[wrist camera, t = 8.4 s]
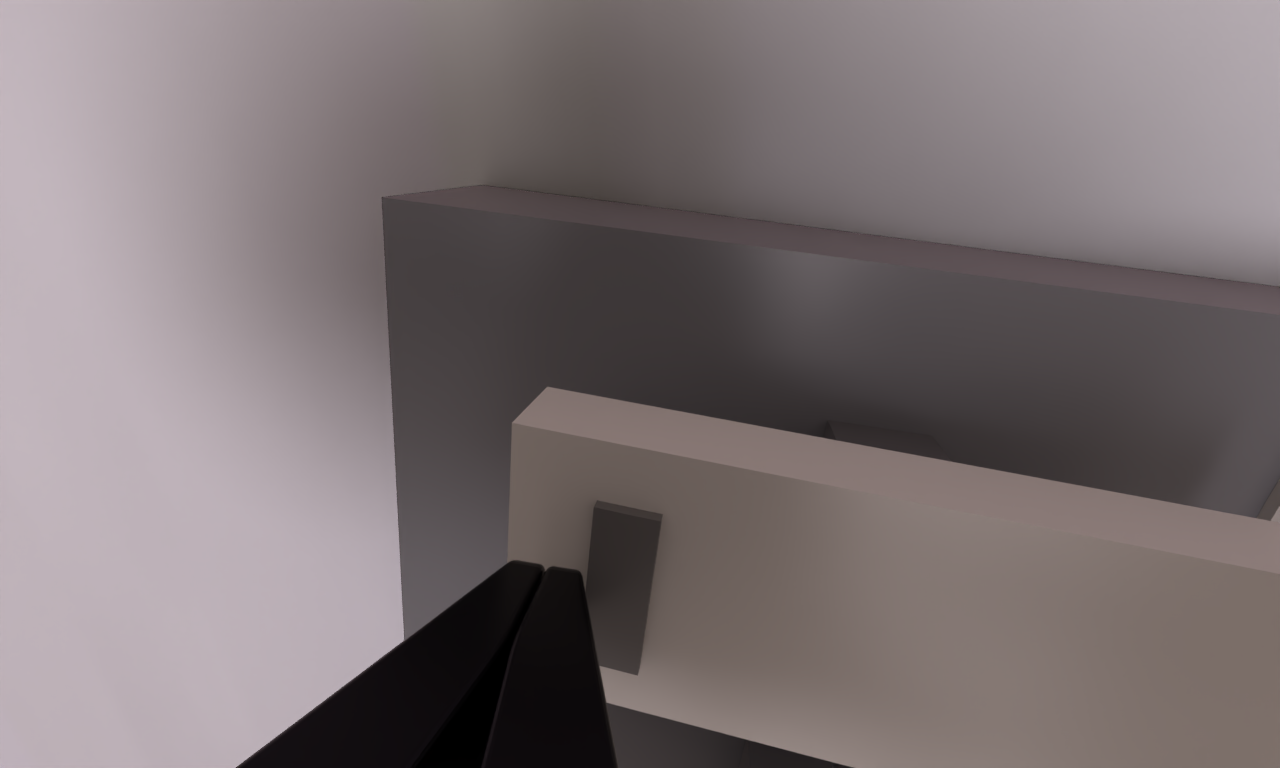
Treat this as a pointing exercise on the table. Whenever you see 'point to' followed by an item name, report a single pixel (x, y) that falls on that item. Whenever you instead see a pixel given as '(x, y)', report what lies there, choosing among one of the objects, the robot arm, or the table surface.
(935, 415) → the console
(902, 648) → the rocker
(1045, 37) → the table surface
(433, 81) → the table surface
